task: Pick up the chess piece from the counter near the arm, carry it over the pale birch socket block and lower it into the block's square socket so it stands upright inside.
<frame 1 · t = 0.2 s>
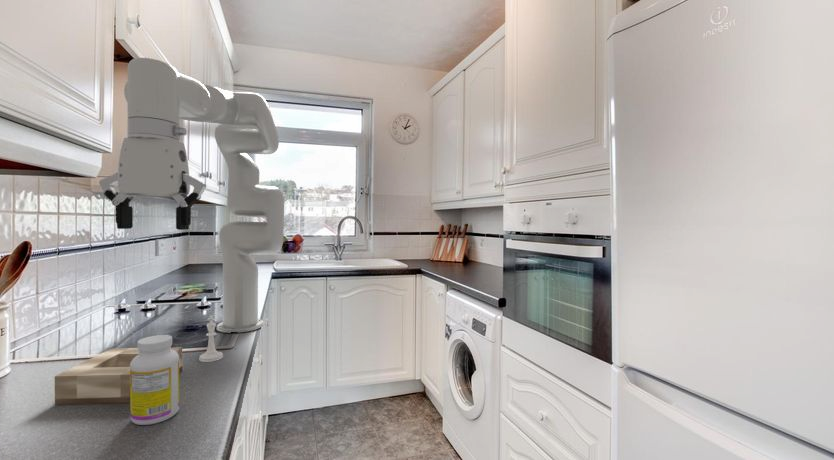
hand: (154, 229, 67), 31 cm above the worktop, fingers open, 9 cm apart
chess piece: (211, 359, 88), on the worktop
socket block: (125, 385, 73), on the worktop
supplement bottle: (155, 417, 62), on the worktop
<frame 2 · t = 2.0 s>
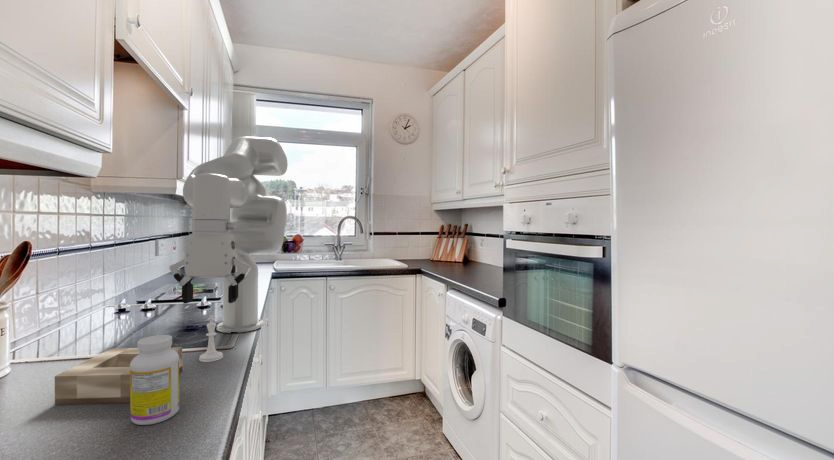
hand: (210, 302, 87), 13 cm above the worktop, fingers open, 9 cm apart
nothing on the worktop moved.
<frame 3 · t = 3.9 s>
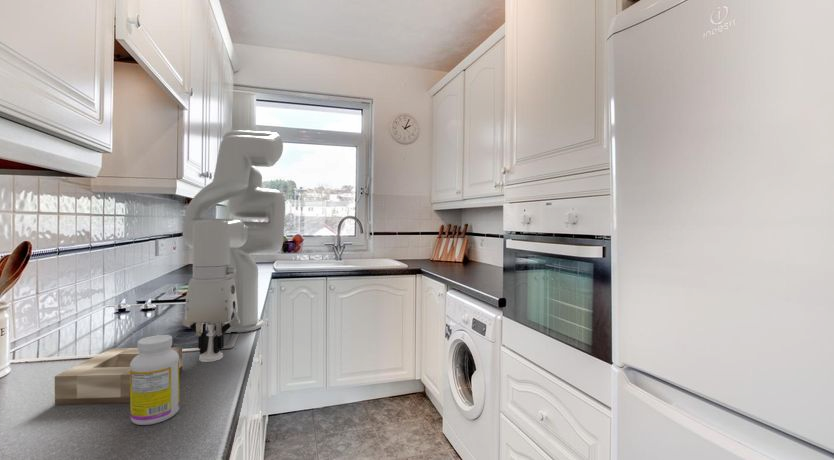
hand: (211, 350, 88), 2 cm above the worktop, fingers closed on chess piece
chess piece: (211, 358, 88), on the worktop, touching gripper
everything else where it was.
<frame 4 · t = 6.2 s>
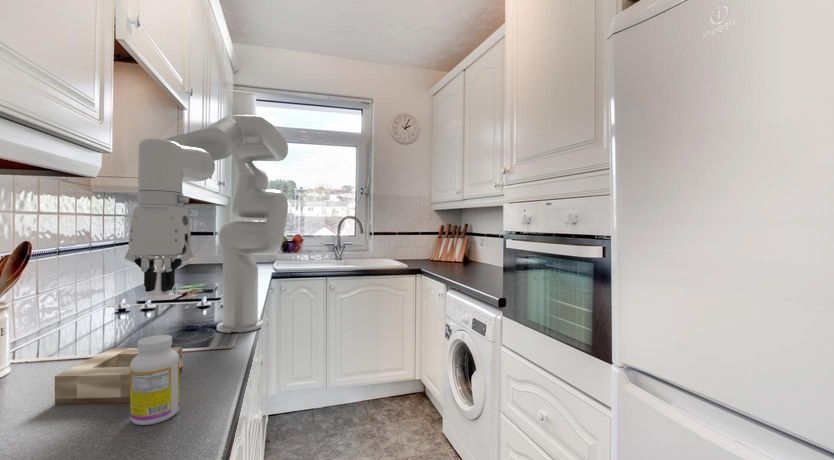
hand: (159, 289, 77), 18 cm above the worktop, fingers closed on chess piece
chess piece: (159, 299, 77), point 16 cm above the worktop, touching gripper
everything else where it was.
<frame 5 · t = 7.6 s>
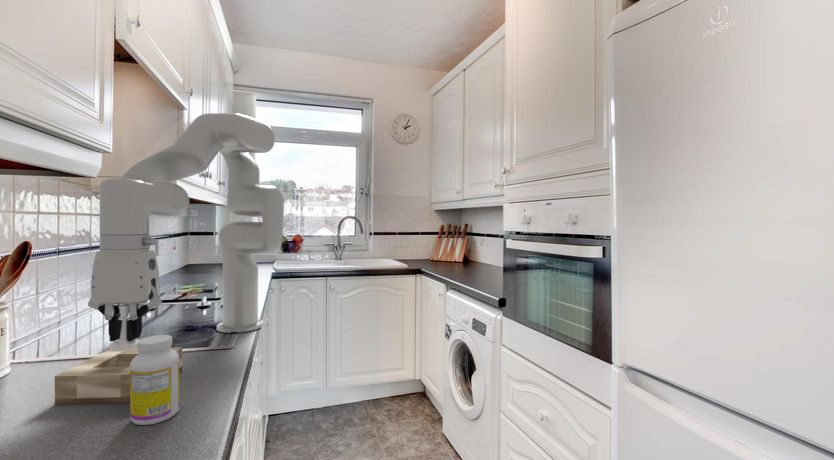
hand: (125, 338, 72), 9 cm above the worktop, fingers closed on chess piece
chess piece: (125, 347, 72), point 7 cm above the worktop, touching gripper
everything else where it was.
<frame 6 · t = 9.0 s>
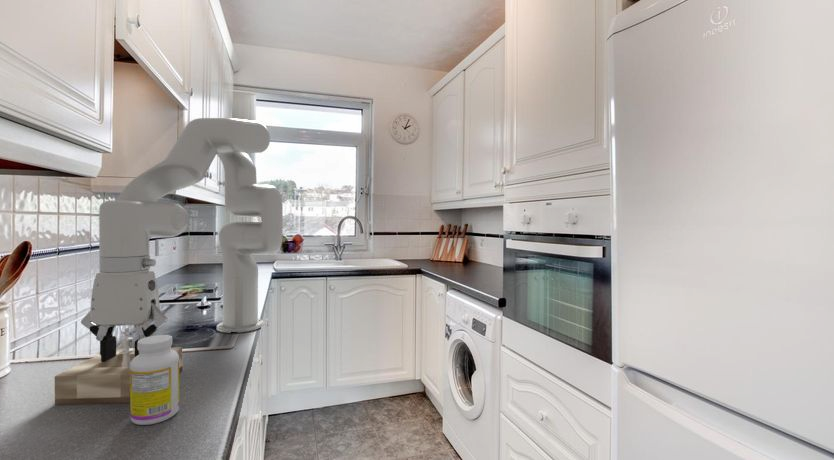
hand: (125, 357, 72), 5 cm above the worktop, fingers open, 5 cm apart
chess piece: (126, 381, 73), point 1 cm above the worktop, touching socket block
everything else where it was.
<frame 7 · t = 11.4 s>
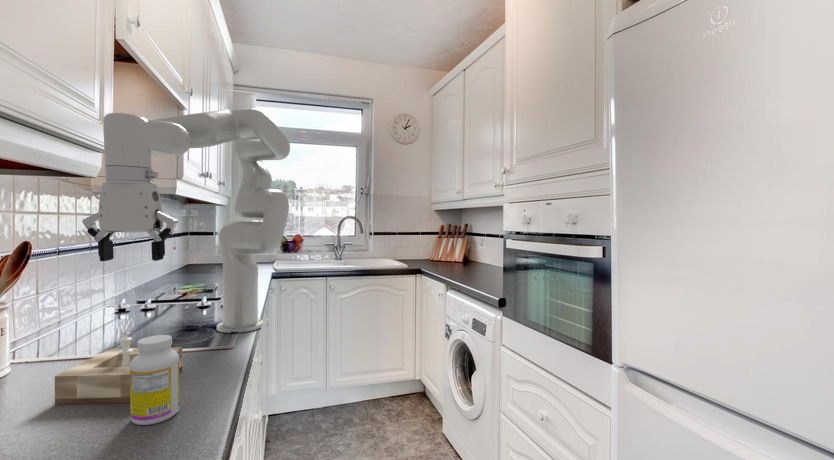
hand: (132, 260, 78), 24 cm above the worktop, fingers open, 9 cm apart
nothing on the worktop moved.
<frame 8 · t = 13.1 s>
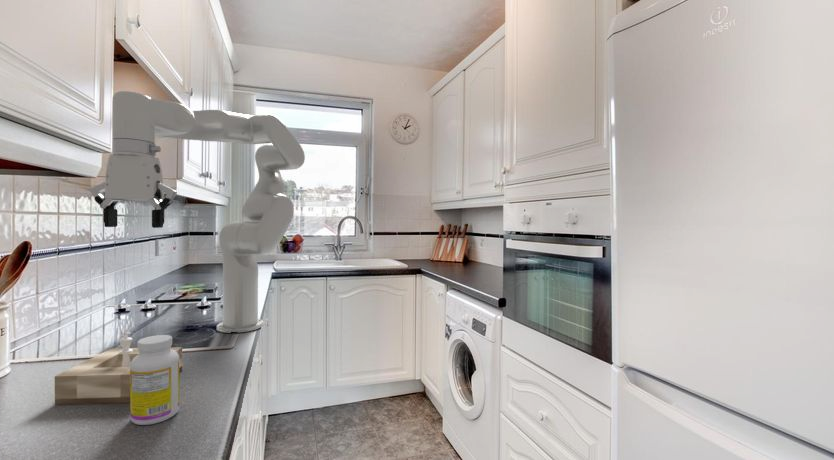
hand: (134, 227, 84), 30 cm above the worktop, fingers open, 9 cm apart
nothing on the worktop moved.
at the end: chess piece 0.1 cm off-centre on the socket block, point 0.8 cm above the socket block's base; chess piece tilted 0°; the gripper is holding nothing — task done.
